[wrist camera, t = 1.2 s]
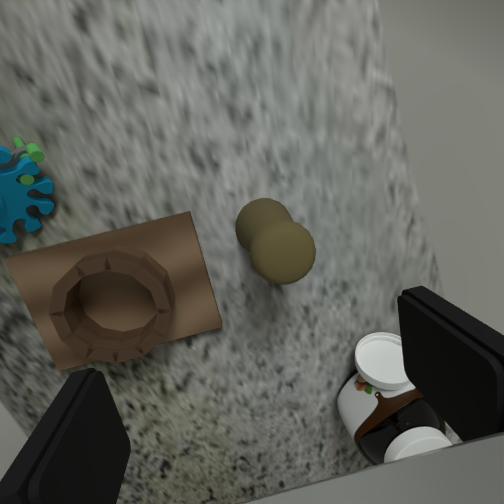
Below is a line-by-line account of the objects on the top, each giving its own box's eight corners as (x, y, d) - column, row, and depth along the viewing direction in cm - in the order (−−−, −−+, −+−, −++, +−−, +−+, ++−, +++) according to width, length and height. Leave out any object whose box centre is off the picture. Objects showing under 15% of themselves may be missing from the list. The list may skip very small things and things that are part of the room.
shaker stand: (10, 255, 33) (-22, 273, 29) (189, 211, 34) (187, 221, 30) (62, 364, 38) (42, 395, 33) (221, 321, 39) (224, 345, 34)
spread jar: (352, 425, 46) (399, 514, 35) (305, 372, 42) (341, 452, 31) (426, 373, 45) (499, 446, 34) (385, 314, 41) (451, 375, 30)
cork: (239, 258, 37) (253, 302, 26) (231, 202, 35) (243, 225, 24) (294, 249, 37) (328, 289, 27) (289, 194, 35) (324, 213, 25)
